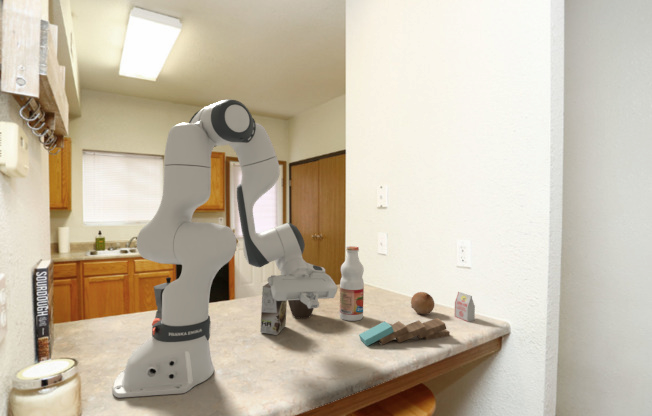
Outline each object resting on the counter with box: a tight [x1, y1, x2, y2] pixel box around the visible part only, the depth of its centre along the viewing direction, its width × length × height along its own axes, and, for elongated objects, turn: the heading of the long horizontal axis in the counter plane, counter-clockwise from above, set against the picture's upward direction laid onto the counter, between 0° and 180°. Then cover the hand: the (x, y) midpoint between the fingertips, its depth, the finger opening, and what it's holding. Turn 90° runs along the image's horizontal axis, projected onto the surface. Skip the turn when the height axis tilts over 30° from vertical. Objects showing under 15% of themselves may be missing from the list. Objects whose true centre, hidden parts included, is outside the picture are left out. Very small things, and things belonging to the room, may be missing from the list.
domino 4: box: [422, 329, 451, 340], centre depth 116 cm, size 2×5×10 cm
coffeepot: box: [153, 276, 172, 320], centre depth 115 cm, size 15×9×18 cm, turn 14°
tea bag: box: [454, 291, 476, 323], centre depth 134 cm, size 4×7×10 cm, turn 22°
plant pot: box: [287, 299, 315, 319], centre depth 134 cm, size 15×15×16 cm
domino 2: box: [394, 319, 427, 344], centre depth 111 cm, size 2×5×10 cm
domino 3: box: [416, 317, 447, 340], centre depth 113 cm, size 2×5×10 cm
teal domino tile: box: [358, 320, 394, 347], centre depth 108 cm, size 2×5×10 cm
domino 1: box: [377, 321, 408, 346], centre depth 110 cm, size 2×5×10 cm
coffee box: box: [260, 283, 288, 336], centre depth 117 cm, size 9×6×16 cm
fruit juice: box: [339, 246, 365, 322], centre depth 133 cm, size 9×9×28 cm
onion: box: [410, 291, 435, 315], centre depth 140 cm, size 10×9×10 cm
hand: (314, 306), depth 93 cm, fingers closed
